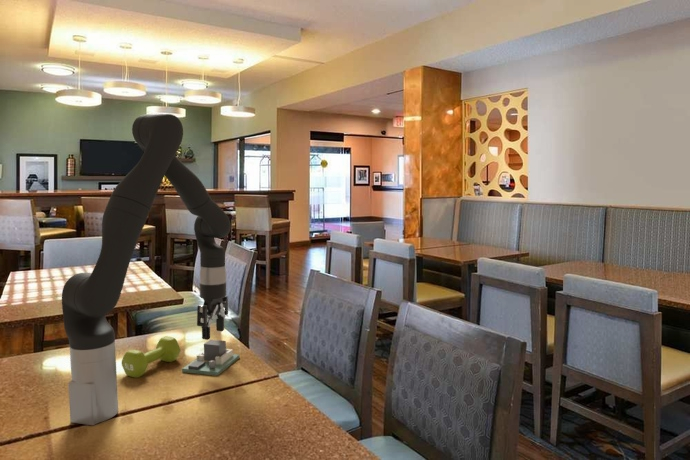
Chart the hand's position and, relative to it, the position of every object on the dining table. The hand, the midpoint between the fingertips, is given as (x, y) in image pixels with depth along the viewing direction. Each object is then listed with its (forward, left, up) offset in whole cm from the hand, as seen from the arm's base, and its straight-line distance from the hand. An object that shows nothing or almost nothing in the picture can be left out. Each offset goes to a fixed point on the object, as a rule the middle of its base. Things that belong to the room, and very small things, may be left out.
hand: (213, 334), depth 144 cm
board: (-2, 0, -9) cm, 9 cm away
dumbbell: (-8, +15, -9) cm, 20 cm away
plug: (0, 0, -7) cm, 7 cm away
